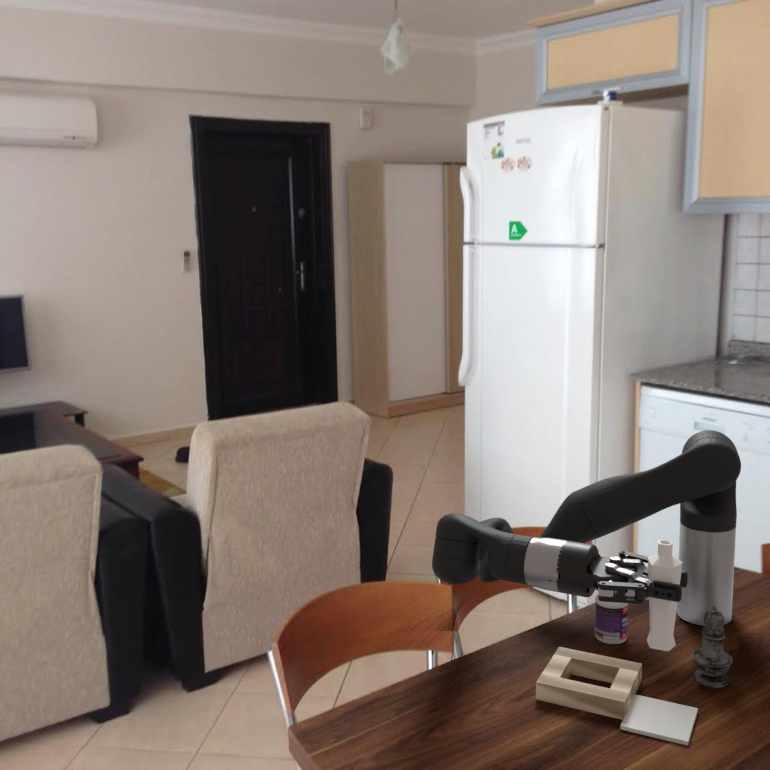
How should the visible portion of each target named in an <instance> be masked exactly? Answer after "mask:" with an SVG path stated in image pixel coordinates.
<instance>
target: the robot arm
mask: <svg viewBox="0 0 770 770" xmlns="http://www.w3.org/2000/svg"><path fill="white" fill-rule="evenodd" d="M741 471H742V462H741V458H740V455H739V453H738V449H737V447H736V445H735V443H734V441H733V440H731V438H730V437H728V436H727V435H726V434H724V433H723V432H720V431H717V430H711V429H710V430H709V429H708V430H701V431H698V432H696V433H694V434H692V435H691V436H690V437H688V439H687V440H686V442H685V443H684V445H683V448H682V450H681V453H680V454H679V455H677V456H675V457H673V458H672V459H669V460H668V461H665V462H664V463H661V464H660V465H657V466H655V467H653V468H650V469H647V470H642V471H639V472H632V473H627V474H620V475H615V476H612V477H611V476H610V477H607V478H603V479H601V480H597V481H596V482H594V483H591V484H589V485H586V486H584V487H581V488H580V489H576V490H575V491H573V492H571V493H570V494H569V495H568V496H567V497H565V499H564V500H563V501H562V503H560V505H559V507H558V509H557V510H556V511H555V513H554V515H553V516H552V518H551V520H550V522H549V523H548V525H547V526H546V527H545V528H544V530H543V531H542V533H540V535H539V537H537V536H536V537H535V536H529V535H522V534H517V533H514V530H513V529H512V526H511V525H510V523H509V522H508V521H507V520H506V519H505V518H502V517H492V518H488V519H485V520H482V521H478V520H477V519H475V518H472V517H470V516H468V515H465V514H462V513H457V512H453V513H448V514H446V515H443V516H442V517H440V518H439V520H438V521H437V524H436V530H435V537H434V544H433V545H434V546H433V552H432V553H433V554H432V559H431V568H432V571H433V573H434V575H435V576H436V577H437V579H439V580H440V581H442V582H444V583H446V584H450V585H462V584H463V585H464V584H467V583H470V582H471V581H473V580H475V579H476V578H477V577H479V580H480V581H482V582H483V583H485V584H486V583H494V582H499V581H505V582H509V583H515V584H521V585H527V586H532V587H534V588H537V589H540V590H545V591H551V592H556V593H561V594H567V595H571V596H576V597H584V598H590V597H592V596H593V594H594V592H595V591H597V594H598V600H599V601H602V602H617V603H628V604H634V605H635V604H636V605H643V604H645V600H646V601H647V600H648V601H649V599H651V597H652V598H658V599H664V600H669V601H675V602H677V610H676V615H677V616H678V617H679V618H680V619H682V620H683V621H686V622H688V623H690V624H693V625H697V626H703V627H704V614H705V613H706V612H707V611H710V610H713V609H712V607H713V606H715V607H716V608H717V609H716V610H717V611H719V612H720V613H722V615H723V616H724V626H725V625H728V624H729V623H731V621H732V618H733V617H732V616H733V598H734V579H735V577H734V576H735V560H736V559H735V557H736V554H735V553H736V538H737V537H736V535H737V533H736V532H737V520H738V519H737V516H738V515H737V514H738V513H737V512H738V510H737V480H738V478H739V476H740V475H741V474H740V473H741ZM676 505H679V508H680V509H679V514H680V516H679V538H678V539H679V543H678V560H680V561H682V562H683V563H682V571H681V579H680V585H679V584H673V583H667V582H661V581H655V580H654V581H653V583H652V581H651V580H649V579H648V557H649V556H648V555H647V556H646V555H643V554H638V553H635V552H631V551H629V550H625V549H624V550H622V549H621V550H619V551H618V556H601V555H600V553H599V552H600V551H599V548H598V547H597V546H596V545H595V544H591V543H589V542H592V541H594V540H597V539H599V538H602V537H604V536H607V535H610V534H612V533H615V532H616V531H619V530H621V529H623V528H625V527H628V526H630V525H632V524H635V523H637V522H639V521H642V520H643V519H647V518H648V517H650V516H653V515H655V514H657V513H659V512H661V511H663V510H665V509H668V508H670V507H674V506H676Z"/></svg>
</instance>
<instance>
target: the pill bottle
mask: <svg viewBox="0 0 770 770" xmlns="http://www.w3.org/2000/svg"><path fill="white" fill-rule="evenodd" d="M594 604H595V605H594V606H595V607H594V637H595V638H596V640H598V641H599V642H601V643H603V644H608V645H619V644H623V643H624V642H626V641H627V638H628V621H629V619H628V618H629V603H617V602H602V601H599V600H598V593H597V594H596V596H595V603H594Z"/></svg>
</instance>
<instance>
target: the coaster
mask: <svg viewBox="0 0 770 770" xmlns="http://www.w3.org/2000/svg"><path fill="white" fill-rule="evenodd" d="M698 713H699V708H698V707H695V706H689V705H685V704H681V703H680V704H679V703H676V702H671V701H667V700H662V699H657V698H654V697H649V696H644V695H640V694H637V693H636V694H634V696H633V698H632V700H631V703H630V705H629V707H628V709H627V712H626V714H625V716H624V719H623V720H622V721H621V723H620V730H621V731H626V732H630V733H634V734H638V735H642V736H646V737H650V738H655V739H659V740H662V741H666V742H670V743H671V742H672V743H674V744H675V743H676V744H680V745H684V746H689V743H690V740H691V737H692V733H693V730H694V726H695V723H696V720H697V715H698Z"/></svg>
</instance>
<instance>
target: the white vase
mask: <svg viewBox="0 0 770 770" xmlns="http://www.w3.org/2000/svg"><path fill="white" fill-rule="evenodd" d="M656 542H657V553H656V554H653V555H651V556H647V557H648V579H649V580H651V581H652V583H653V581H654V580H655V581H661V582H667V583H673V584H679V585H680V579H681V571H682V563H683V562H682V561H680V560H679V558H676V557H675V556H673V546H674V545H675V544H674V543H675V542H673V541H671V540H669V539H658V540H656ZM648 604H649V605H648V609H649V633H648V635H647V638H646V641H647V642H646V643H647V645H648V647H649V648H650V649H653V650H657V651H658V650H659V651H665V652H669V651H671V650H672V649H673V648H675V647H676V640H675V636H674V632H675V631H674V630H675V627H676V626H675V624H676V616H677V602H675V601H669V600H664V599H658V598H652V597H651V599H649V600H648Z"/></svg>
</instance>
